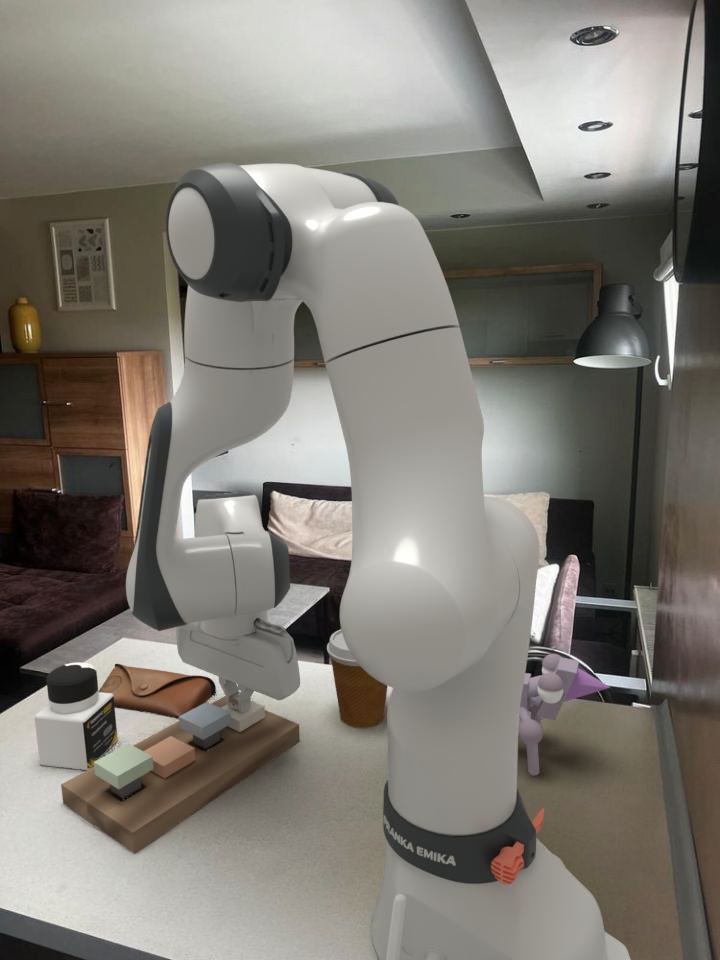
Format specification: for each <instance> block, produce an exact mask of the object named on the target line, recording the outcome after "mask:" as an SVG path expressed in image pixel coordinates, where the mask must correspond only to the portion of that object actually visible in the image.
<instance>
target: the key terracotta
mask: <svg viewBox="0 0 720 960" xmlns="http://www.w3.org/2000/svg"><path fill="white" fill-rule="evenodd" d="M143 752H145V753H147V754H149V755H151V756H152V757H153V770H151V771H152V772H154V773H156V774H158V775H159V776H161V777H163V778H166V777H168V776H170V775H171V774H173V773H175V772H176V771H178V770H180V769H181V768H183V767H185V766H186V765H188V764H190V763H191V762H193V761H194V760H196V758H195V748H194V747H192V746H190V745H188V744H186V743H184V742H182V741H180V740H178V739H176V738H174V737H172V736H170V737H168V738H166V739H165V740H163V741H161V742H159V743H157V744H156V745H154V746H152V747H150V748H148V749H147V750H145V751H143Z"/></svg>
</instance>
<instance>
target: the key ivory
mask: <svg viewBox="0 0 720 960" xmlns="http://www.w3.org/2000/svg"><path fill="white" fill-rule="evenodd" d="M221 708H222V709H224V710H227V711H229V712H231V724H230V725H228V727H230V728H232V729H234V730H236V731H239V732H241V731H243V730H244V729H246V728H248V727H249V726H251V725H253V724H254V723H256V722H258V721H259V720H261V719H263V718H264V717H265V710H266V709H265V708H266V707H265V706H264V705H262V704H260V703H258V702H255V701H252V700H251V707H250V709H249V710H248V711H246V712H244V713H242V712H239V711H237V710H235V709H232V708H230V707H228V706H227V705H225V706H223V707H221Z"/></svg>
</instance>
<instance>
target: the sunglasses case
mask: <svg viewBox="0 0 720 960" xmlns="http://www.w3.org/2000/svg"><path fill="white" fill-rule="evenodd" d="M216 689H217V687H216V684H215V681H214V680H213V679H211V678H210V677H208V676H205V675H195V674H194V675H190V674H184V673H179V672H173V671H167V670H159V669H153V668H152V669H150V668H144V667H134V666H127V665H123V664H121V663H115V664H114V667H113V669H112V670H111V671H110V673H109V675H108V676H107V678H106V679H105V681H104V682H103V684H102V686H100V688H99V689H98V690H99V692H102V693H112V694H113V696H114V706H115V708H117V709H118V708H119V709H124V708H125V709H124V710H131V711H137V712H144V713H148V712H150V713H149V714H154V713H155V714H156V715H160V714H161V716H165V715H166V717H170V718H174V719H178V720H179V716H181V715H183V714H185V713H187V712H189V711H190V710H192V709H194V708H196V707H198V706H200V705H202V704H204V703H206V702H209V700H210V699H211V698H212V697H213V696H215V695H216V692H217V690H216ZM155 714H154V715H155Z"/></svg>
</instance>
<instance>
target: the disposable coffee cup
mask: <svg viewBox="0 0 720 960" xmlns="http://www.w3.org/2000/svg"><path fill="white" fill-rule="evenodd" d="M326 650H327V653H328V656H329V657H330V659H331V660H330V661H331V662H330V663H331V667H332V674H333V678H334V684H335V685H334V686H335V694H336V698H337V704H338V711H339V716H340V717H339V718H340V720H341V722H343V723H344V724H345V725H347V726H350V727H354V728H370V727H373V726H377V725H378V724H380V723H381V722H382V721H383V720H384V717H385V712H386V711H385V710H386V703H387V702H386V701H387V693H388V686H387V685H385V684H383V683H381V682H379V681H378V680H376V679H375V678H373V677H372V676H371V675H369V674H368V673H367V672H366V671H365V670H364V669H363V668H362V667H361V666H360V665H359V664H358V663H357V661H356V660H355V659H354V657H353V656H352V654H351V653H350V651H349V649H348V647H347V645H346V643H345V640H344V637H343V634H342V630H341V628H339V630H336V631H334V632H333V633H332V634H331V635H330V637H329V642H328V643H327V645H326Z"/></svg>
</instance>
